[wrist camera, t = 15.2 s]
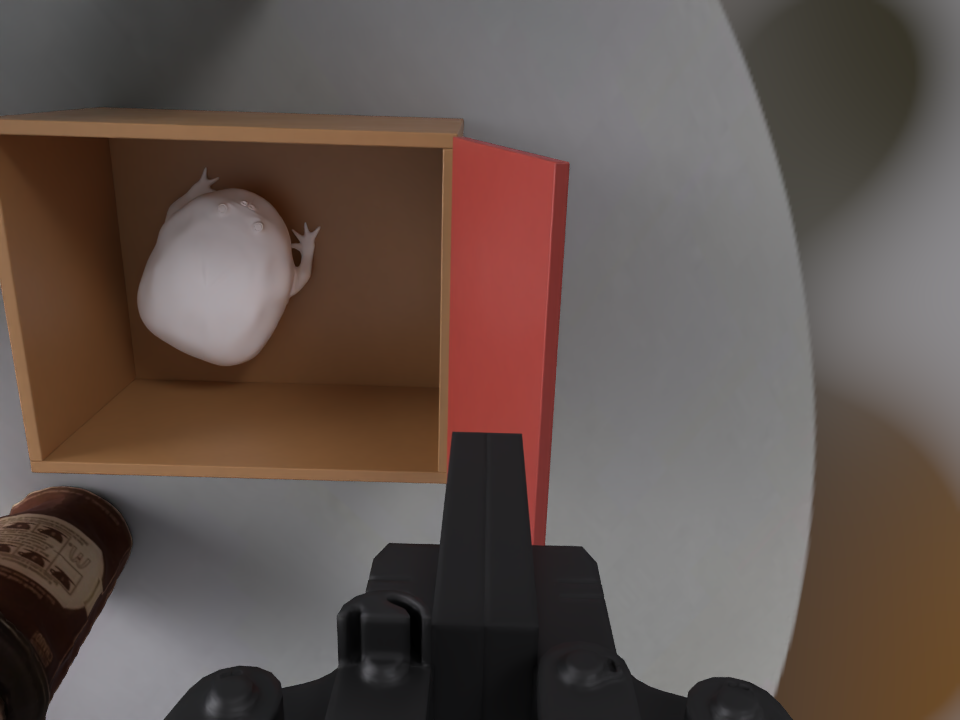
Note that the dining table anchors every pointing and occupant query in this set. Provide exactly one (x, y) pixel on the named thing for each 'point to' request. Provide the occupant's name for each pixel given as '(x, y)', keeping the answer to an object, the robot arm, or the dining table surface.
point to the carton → (299, 333)
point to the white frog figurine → (221, 274)
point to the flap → (507, 301)
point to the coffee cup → (52, 589)
